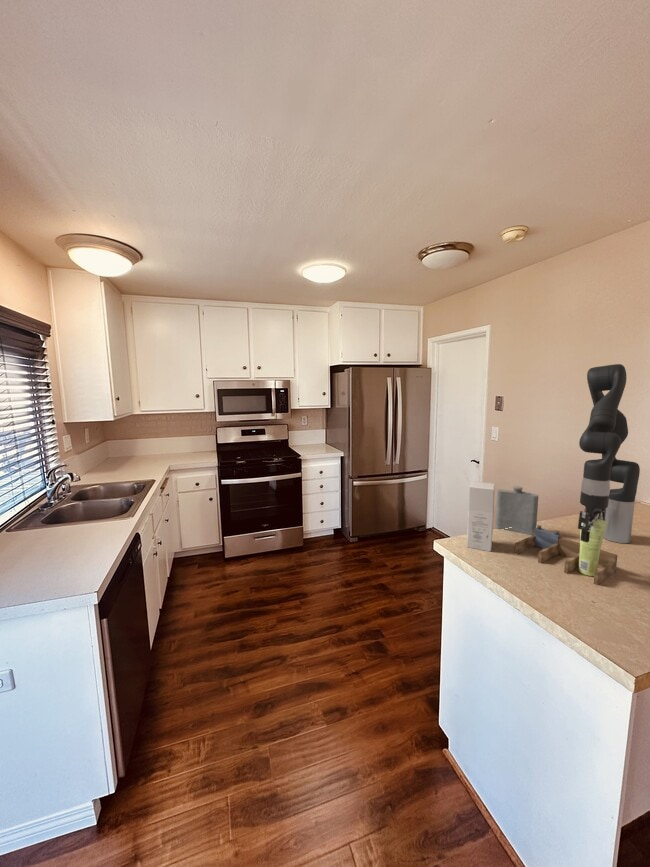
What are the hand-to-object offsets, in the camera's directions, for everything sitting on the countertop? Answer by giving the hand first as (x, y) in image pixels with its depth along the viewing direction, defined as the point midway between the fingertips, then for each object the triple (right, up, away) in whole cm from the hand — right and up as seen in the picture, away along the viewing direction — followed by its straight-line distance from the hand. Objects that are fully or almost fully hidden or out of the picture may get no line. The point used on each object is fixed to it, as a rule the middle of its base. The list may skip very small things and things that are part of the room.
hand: (590, 538), depth 119 cm
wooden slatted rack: (-3, -11, +10) cm, 15 cm away
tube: (0, -13, +2) cm, 13 cm away
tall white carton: (-27, -10, +24) cm, 37 cm away
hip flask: (-5, -8, +38) cm, 39 cm away
